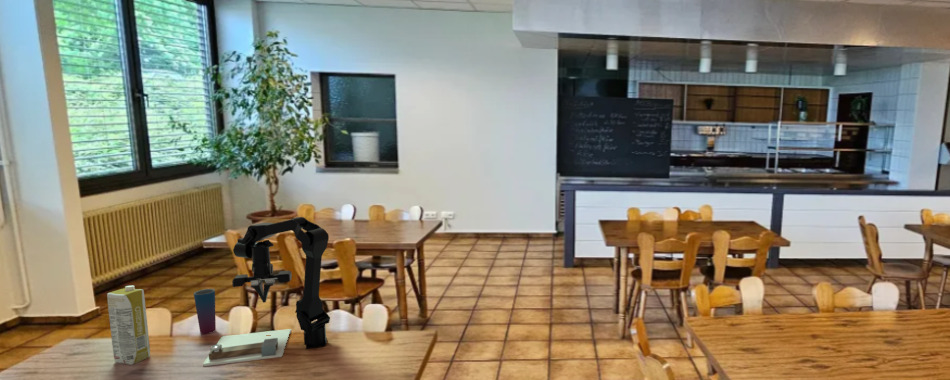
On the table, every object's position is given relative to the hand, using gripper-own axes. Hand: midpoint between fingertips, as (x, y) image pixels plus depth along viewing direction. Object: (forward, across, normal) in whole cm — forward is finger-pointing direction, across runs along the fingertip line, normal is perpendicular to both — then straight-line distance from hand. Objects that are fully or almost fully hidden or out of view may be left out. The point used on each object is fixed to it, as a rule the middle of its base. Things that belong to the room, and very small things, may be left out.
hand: (264, 302), depth 175 cm
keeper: (+12, -4, +18) cm, 22 cm away
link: (+11, +4, +17) cm, 20 cm away
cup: (+12, +22, -10) cm, 27 cm away
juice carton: (+12, +39, +9) cm, 42 cm away
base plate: (+12, +4, +10) cm, 16 cm away
